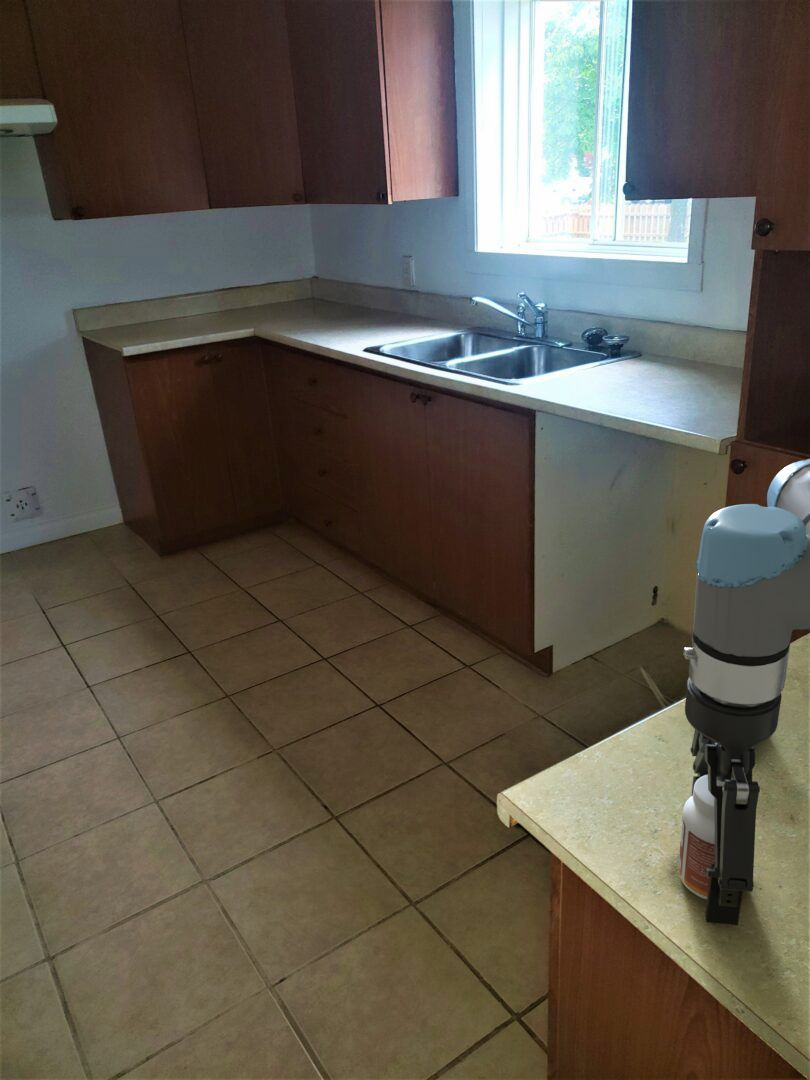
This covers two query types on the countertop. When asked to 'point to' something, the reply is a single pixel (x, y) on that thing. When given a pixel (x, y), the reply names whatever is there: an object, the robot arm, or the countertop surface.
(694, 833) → the pill bottle
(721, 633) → the robot arm
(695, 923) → the countertop surface
